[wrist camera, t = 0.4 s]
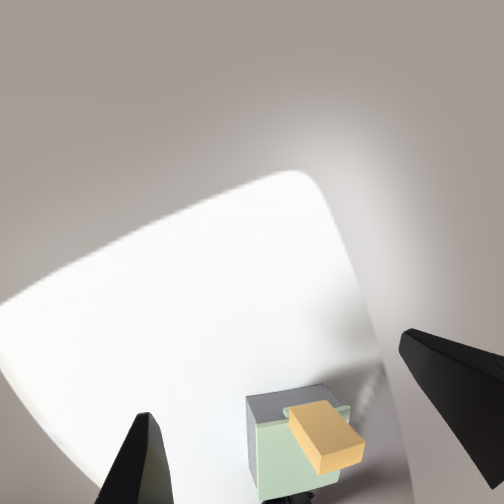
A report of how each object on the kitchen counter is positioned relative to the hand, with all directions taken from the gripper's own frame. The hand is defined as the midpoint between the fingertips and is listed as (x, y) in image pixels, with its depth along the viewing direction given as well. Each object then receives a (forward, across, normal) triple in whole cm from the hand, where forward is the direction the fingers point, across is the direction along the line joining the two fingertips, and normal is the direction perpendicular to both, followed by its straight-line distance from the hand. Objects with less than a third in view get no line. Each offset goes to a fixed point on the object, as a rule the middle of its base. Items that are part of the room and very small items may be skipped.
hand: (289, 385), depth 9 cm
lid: (+7, -3, +19) cm, 20 cm away
